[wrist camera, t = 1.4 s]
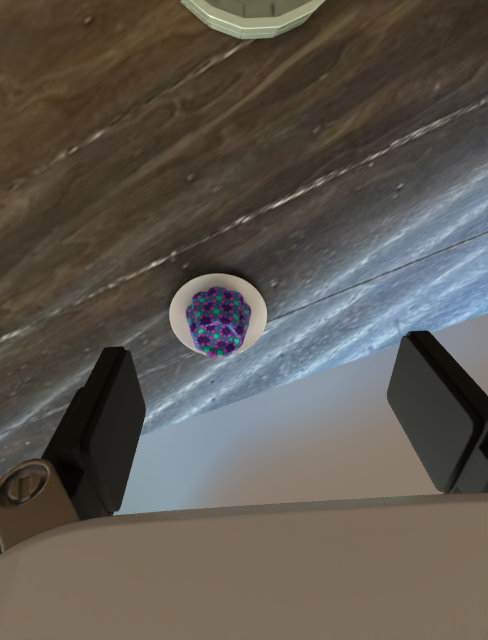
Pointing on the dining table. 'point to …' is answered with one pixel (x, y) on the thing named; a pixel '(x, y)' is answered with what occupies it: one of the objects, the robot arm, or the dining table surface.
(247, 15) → the bowl
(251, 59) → the dining table surface
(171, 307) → the pudding
